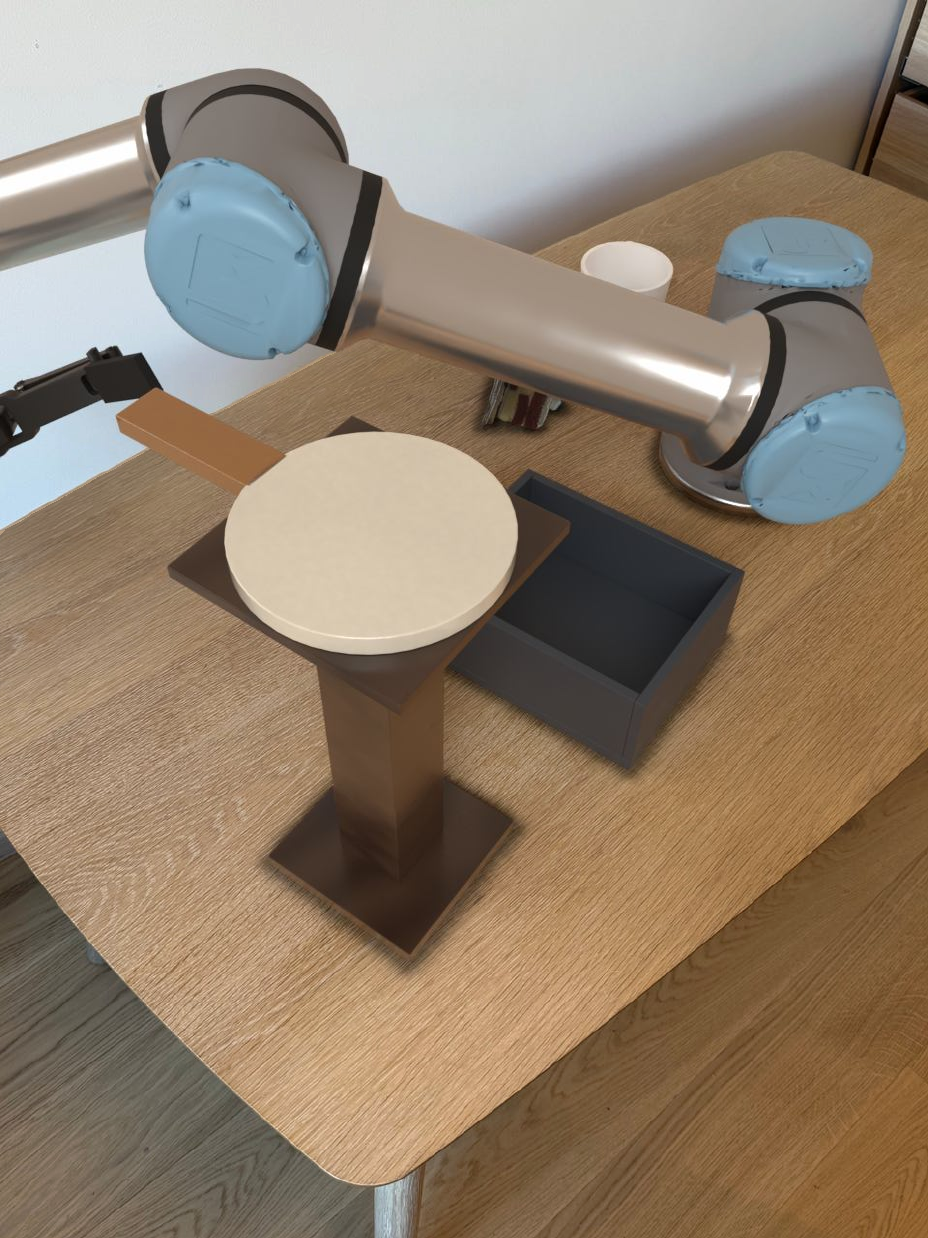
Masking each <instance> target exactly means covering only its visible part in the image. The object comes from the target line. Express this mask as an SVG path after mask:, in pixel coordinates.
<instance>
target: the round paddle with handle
mask: <svg viewBox="0 0 928 1238" xmlns="http://www.w3.org/2000/svg"><path fill="white" fill-rule="evenodd" d="M115 419H116V423H117V426H118V430H119V433H120V434H122V435H124V436H126V437H128V438H130V439H132V440H133V441H135V442H137V443H139V444H141V445H142V446H144V447H146V448H148V449H149V450H152V451H153V452H155V453H157V454H159V455H161V456H163V457H164V458H166V459H168V460H170V461H172V462H174V463H175V464H177V465H178V466H181V467H183V468H184V469H186V470H188V471H190V472H191V473H194V474H195V475H197V476H199V477H201V478H203V479H204V480H206V481H208V482H210V483H212V484H214V485H215V486H217V487H219V488H220V489H223V490H224V491H226V492H228V493H230V494H232V495H234V496H236V498H235V499H234V502H233V504H232V506H231V508H230V511H229V513H228V516H227V517H228V519H227V523H226V527H225V539H224V545H225V552H226V558H227V563H228V568H229V572H230V575H231V578H232V581H233V584H234V586H235V588H236V590H237V592H238V594H239V595H240V597H241V599H242V600H243V601H244V603H245V604H246V605H247V606H248V608H249V609H250V610H251V611H252V612H253V613H254V614H255V615H256V616H257V617H258V618H259V619H260V620H262V621H263V622H264V623H265V624H267V625H268V626H270V627H271V628H273V629H274V630H275V631H277V632H279V633H281V634H283V635H284V636H286V637H288V638H290V639H292V640H294V641H297V642H300V643H302V644H305V645H308V646H311V647H314V648H318V649H322V650H326V651H330V652H338V653H345V654H359V655H376V654H390V653H397V652H402V651H408V650H413V649H416V648H420V647H423V646H427V645H430V644H433V643H435V642H438V641H440V640H443V639H445V638H448V637H450V636H452V635H454V634H455V633H457V632H459V631H461V630H463V629H464V628H466V627H467V626H469V625H470V624H472V623H473V622H474V621H476V620H477V619H479V618H480V617H481V616H482V615H483V614H484V613H485V612H486V611H487V610H488V609H489V608H490V607H492V605H493V604H494V603H495V602H496V600H497V599H498V598H499V597H500V595H501V594H502V593H503V591H504V589H505V587H506V586H507V584H508V582H509V580H510V578H511V575H512V572H513V569H514V567H515V561H516V555H517V545H518V523H517V518H516V512H515V509H514V507H513V504H512V502H511V499H510V497H509V496H508V494H507V492H506V491H505V490H506V489H505V487H504V486H503V484H502V483H501V482H500V481H499V479H498V478H497V477H496V476H495V475H494V474H493V473H492V472H491V471H490V470H489V469H488V468H487V467H486V466H485V465H483V464H482V463H481V462H479V461H478V460H476V459H475V458H473V457H472V456H471V455H469V454H467V453H466V452H463V451H462V450H460V449H458V448H456V447H453V446H451V445H450V444H449V445H448V444H446V443H444V442H441V441H438V440H435V439H431V438H428V437H424V436H419V435H415V434H410V433H403V432H394V431H385V432H358V433H350V434H343V435H337V436H333V437H328V438H325V437H323V438H321V439H317V440H314V441H311V442H308V443H306V444H303V445H301V446H299V447H295V448H294V449H291V450H289V451H287V452H286V453H284V452H282V451H280V450H278V449H276V448H274V447H273V446H271V445H268V444H267V443H265V442H263V441H262V440H259V439H257V438H255V437H254V436H251V435H249V434H248V433H246V432H243V431H242V430H240V429H238V428H236V427H234V426H232V425H230V424H228V423H227V422H224V421H223V420H220V419H219V418H217V417H214V416H213V415H211V414H209V413H207V412H205V411H203V410H202V409H199V408H197V407H195V406H194V405H192V404H189V403H187V402H185V400H182V399H180V398H178V397H177V396H174V395H173V394H170V393H168V392H166V391H165V390H164V391H163V390H161V389H159V388H154V389H153V390H151V391H150V392H148V393H147V394H145V395H144V396H142V397H141V398H139V399H136V400H135V401H133V402H132V403H130V404H129V405H128V406H126V407H125V408H123V409H122V410H120V411H119V412H118V413H116V414H115Z"/></svg>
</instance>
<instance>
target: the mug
mask: <svg viewBox="0 0 928 1238" xmlns="http://www.w3.org/2000/svg"><path fill="white" fill-rule="evenodd" d="M580 273H583V274H586V275H589V276H592V277H595V278H598V279H600V280H603V281H606V282H609V283H612V284H615V285H617V286H620V287H623V288H626V289H629V290H632V291H635V292H637V293H640V294H643V295H646V296H649V297H652V298H655V299H657V300H660V301H663V302H666V299H667V296H668V292H669V288H670V284H671V281H672V278H673V275H674V266H673V263H672V262H671V260H670V259H669V257H668V256H666V254H665V253H663V252H662V251H660V250H658V249H656V248H655V247H653V246H649V245H646V244H644V243H639V242H635V241H633V240H626V241H620V240H619V241H609V242H604V243H601V244H597V245H595V246H594V247H592V248H589V249H588V250H587V251H586V252H585V253H584V254H583V256H582V257H581V259H580Z"/></svg>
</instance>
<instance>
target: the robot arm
mask: <svg viewBox="0 0 928 1238" xmlns="http://www.w3.org/2000/svg"><path fill="white" fill-rule="evenodd" d="M141 231H145V234H144V243H143V254H144V256H143V257H144V265H145V269H146V273H147V276H148V279H149V282H150V285H151V287H152V290H153V292H154V293H155V295H156V297H157V298H158V299H159V301H160V302H161V303H162V304H163V306H164V307H165V309H166V312H167V314H169V316H170V317H171V319H172V320H173V321H174V322H175V323H176V324H177V325H178V326H179V327H180V328H181V329H182V330H183V331H184V332H185V333H187V334H188V335H189V336H191V337H192V338H193V339H195V340H196V341H198V342H199V343H201V344H202V345H204V346H206V347H208V348H210V349H211V350H213V351H216V352H218V353H221V354H223V355H226V356H229V357H232V358H236V359H240V360H250V361H267V360H274V359H275V357H276V356H278V355H280V354H283V355H290V354H293V353H294V352H297V351H298V350H299V349H300V348H302V347H304V346H305V345H306V344H307V345H308V344H309V345H312V346H316V347H318V348H321V349H324V350H328V351H330V352H334V353H340V352H342V351H344V350H345V349H348V348H349V347H351V346H353V345H355V344H357V343H359V342H361V341H363V340H372V341H375V342H378V343H381V344H384V345H388V346H390V347H392V348H393V347H394V348H397V349H399V350H403V351H406V352H410V353H412V354H415V355H419V356H423V357H426V358H429V359H432V360H434V361H438V362H441V363H444V364H448V365H450V366H454V367H456V368H460V369H463V370H467V371H470V372H472V373H476V374H479V375H483V376H486V377H488V378H491V379H494V380H495V379H498V380H501V381H504V382H507V383H510V384H513V385H517V386H520V387H523V388H526V389H529V390H532V391H536V392H539V393H542V394H545V395H548V396H551V397H554V398H558V399H561V401H564V402H567V403H570V404H574V405H577V406H580V407H584V408H587V409H589V410H593V411H595V412H598V413H602V414H605V415H608V416H611V417H614V418H618V419H621V420H624V421H627V422H631V423H634V424H637V425H640V426H643V427H647V428H649V429H653V430H655V431H659V432H661V435H660V440H659V446H658V459H659V463H660V467H661V469H662V471H663V473H664V474H665V476H666V478H667V479H668V480H669V482H670V483H671V484H672V485H673V486H674V487H675V488H676V489H677V491H679V492H680V493H682V494H683V495H684V496H686V497H687V498H689V499H690V500H692V501H694V502H695V503H697V504H699V505H701V506H704V507H706V508H708V509H711V510H714V511H717V512H721V513H723V514H728V515H731V516H732V515H733V516H740V517H748V518H749V517H753V518H757V517H758V518H760V517H761V518H765V519H767V520H769V521H772V522H775V523H779V524H784V525H793V526H797V525H799V526H800V525H802V526H803V525H813V524H818V523H819V524H820V523H824V522H828V521H830V520H833V519H834V518H837V517H838V516H842V515H845V514H849V513H852V512H853V511H855V510H857V509H859V508H861V507H863V506H864V505H866V503H867V504H868V502H870V501H871V500H873V499H874V498H876V496H877V495H879V494H880V493H881V492H882V491H883V490H884V489H885V488H886V487H888V485H889V484H890V482H892V480H893V479H894V478H895V476H896V475H897V473H898V471H899V470H900V468H901V466H902V464H903V460H904V459H905V455H906V451H907V442H908V441H907V431H906V427H905V423H904V419H903V406H902V404H901V400H900V399H899V398H898V396H897V395H896V392H895V390H894V387H893V385H892V382H891V380H890V378H889V374H888V372H887V370H886V366H885V364H884V361H883V359H882V356H881V353H880V351H879V348H878V346H877V343H876V341H875V338H874V335H873V333H872V331H871V329H870V327H869V325H868V322H867V319H866V317H865V314H864V311H863V297H864V293H865V290H866V288H867V286H868V283H870V282H871V280H872V278H873V275H872V268H873V263H874V254H873V252H872V249H871V247H870V246H869V245H868V244H867V242H866V241H865V240H864V239H863V238H862V237H860V236H859V235H857V234H856V233H854V232H853V231H850V230H848V229H846V228H844V227H842V226H840V225H836V224H832V223H830V222H826V221H824V220H818V219H813V218H806V217H797V216H771V217H764V218H758V219H754V220H751V221H749V222H747V223H744V224H741V225H739V226H738V227H737V228H734V230H732V231H731V232H730V233H729V234H728V235H727V237H726V239H725V241H724V242H723V246H722V248H721V253H720V256H719V260H718V261H717V262H716V263H715V265H714V270H715V276H714V281H713V285H712V291H711V296H710V300H709V305H708V309H707V314H706V315H703V314H700V313H697V312H695V311H692V310H688V309H686V308H683V307H681V306H678V305H675V304H671V303H669V302H666V301H665V302H663V301H660V300H657V299H655V298H652V297H649V296H646V295H643V294H640V293H637V292H635V291H632V290H629V289H626V288H623V287H620V286H617V285H615V284H612V283H609V282H606V281H603V280H600V279H598V278H595V277H592V276H589V275H586V274H583V273H581V271H578V270H574V269H571V268H569V267H566V266H564V265H561V264H557V263H555V262H552V261H549V260H547V259H544V258H541V257H537V256H534V255H532V254H529V253H526V252H523V251H520V250H518V249H515V248H512V247H509V246H507V245H504V244H501V243H498V242H495V241H493V240H489V239H487V238H484V237H482V236H478V235H475V234H472V233H470V232H467V231H464V230H461V229H458V228H455V227H453V226H449V225H448V224H444V223H441V222H439V221H435V220H433V219H430V218H427V217H423V216H421V215H419V214H415V213H413V212H411V211H407V210H406V209H405V208H404V207H403V206H402V205H401V204H400V203H399V201H398V199H397V197H396V193H395V192H394V190H393V188H392V186H391V184H390V182H389V180H388V179H387V178H386V177H384V176H381V175H379V174H376V173H373V172H370V171H367V170H364V169H362V168H359V167H356V166H355V165H351V164H350V154H349V150H348V145H347V141H346V138H345V135H344V132H343V130H342V128H341V125H340V124H339V121H338V118H337V117H336V115H335V114H334V112H333V111H332V110H331V109H330V107H329V106H328V104H327V103H326V102H325V100H324V99H323V97H321V96H320V95H319V94H318V93H316V92H315V91H314V90H313V89H311V88H310V87H309V86H308V85H307V84H305V83H304V82H302V81H301V80H298V79H297V78H294V77H292V76H290V75H288V74H286V73H283V72H280V71H276V70H273V69H269V68H261V67H247V68H246V67H245V68H236V69H230V70H226V71H221V72H217V73H213V74H211V75H207V76H204V77H200V78H198V79H194V80H192V81H188V82H185V83H182V84H179V85H176V86H173V87H169V88H167V89H163V90H161V91H158V92H154V93H153V94H150V95H148V96H147V97H146V98H145V100H144V101H143V104H142V107H141V109H140V113H139V115H136V116H133V117H129V118H127V119H123V120H121V121H118V122H114V123H110V124H107V125H105V126H102V127H99V128H96V129H92V130H89V131H87V132H83V133H81V134H77V135H75V136H74V135H73V136H71V137H68V138H64V139H62V140H59V141H56V142H53V143H50V144H47V145H44V146H41V147H37V148H34V149H31V150H28V151H26V152H22V153H19V154H16V155H13V156H10V157H7V158H4V159H1V160H0V272H3V271H6V270H10V269H14V268H17V267H20V266H24V265H27V264H30V263H34V262H37V261H41V260H45V259H47V258H52V257H55V256H58V255H61V254H66V253H69V252H72V251H76V250H78V249H82V248H85V247H89V246H93V245H96V244H99V243H103V242H107V241H110V240H114V239H117V238H120V237H125V236H127V235H132V234H135V233H137V232H141ZM85 355H86V357H84V358H81V359H78V360H76V361H73V362H71V363H68V364H65V365H63V366H61V367H58V368H56V369H53V370H51V371H48V372H46V373H43V374H41V375H37V376H34V377H30V378H26V379H24V380H23V379H21V380H19V381H17V382H16V383H15V384H14V385H13V387H12V388H13V389H8V390H5V391H3V392H2V393H0V458H1V457H4V456H5V455H6V454H7V453H8V451H10V450H11V449H13V448H15V447H18V446H20V445H22V444H24V443H27V442H28V441H31V440H33V439H34V438H35V437H36V436H37V435H38V433H39V432H40V430H41V428H42V427H44V426H47V425H49V424H51V423H53V422H56V421H58V420H60V419H62V418H64V417H67V416H69V415H71V414H73V413H75V412H78V411H80V410H82V409H85V408H87V407H89V406H92V405H93V404H96V403H99V402H101V401H103V403H104V404H112V403H120V402H127V401H132V400H138V399H139V398H141V397H142V396H144V395H145V394H147V393H148V392H150V391H151V390H153V389H154V388H159V389H161V390H163V391H165V390H164V388H163V386H162V384H161V383H160V381H159V379H158V377H157V375H156V374H155V373H154V371H153V369H152V367H151V366H150V364H149V362H148V360H147V359H146V357H145V355H144V354H143V352H142V351H140V352H137V353H136V352H135V353H130V354H125V355H124V354H123V353H122V351H121V349H120V348H119V346H118V345H113V346H112V345H109V346H108V347H106V348H105V349H103V350H101V351H99V349H98V347H97V346H94V347H91V348H90V349H89V350H88V351H87V352H86V353H85ZM18 427H19V429H20V430H21V432H18V433H16V434H15V432H16V430H17V428H18Z"/></svg>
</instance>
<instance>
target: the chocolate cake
mask: <svg viewBox="0 0 928 1238" xmlns="http://www.w3.org/2000/svg"><path fill="white" fill-rule="evenodd" d="M489 395H490V397H489V398H488V400H489V401H488V404H487V407H486V409H485V413H484V415H483V418H482V421H481V424H482V425H481V427H483V426H485V425H493V423H494V420H495V418H498V419H499V420H501V421H503V422H510V423H511V424H513V425H516V426H520V427H526V428H527V429H529V430H532V431H533V430H534V431H535V430H538V429H539V428H540V427H542V426H543V425H544V422H545V421H546V419H547V416H548V415H549V414H548V413H549V411H550V410H551V411H557V410H558V411H561V410H562V409H563V408H564V407H565V405H564V403H563V402H562V400H561V399H558V398H554V397H551V396H548V395H545V394H542V393H539V392H536V391H532V390H529V389H526V388H523V387H520V386H517V385H513V384H510V383H507V382H504V381H501V380H498V379H494V382H493V387H492V389H491V391H490V394H489Z"/></svg>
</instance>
